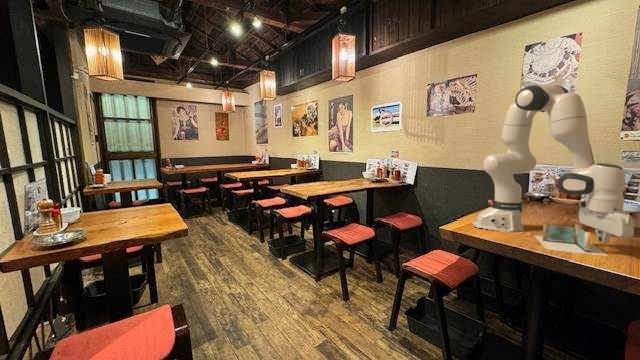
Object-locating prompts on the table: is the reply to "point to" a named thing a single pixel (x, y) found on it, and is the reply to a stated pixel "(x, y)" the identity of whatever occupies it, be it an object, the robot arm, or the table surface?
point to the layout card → (569, 247)
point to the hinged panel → (584, 239)
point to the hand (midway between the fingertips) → (602, 241)
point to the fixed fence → (561, 233)
